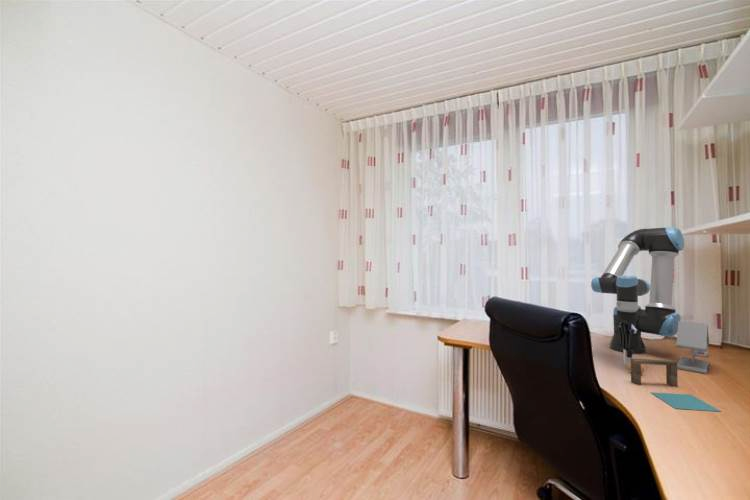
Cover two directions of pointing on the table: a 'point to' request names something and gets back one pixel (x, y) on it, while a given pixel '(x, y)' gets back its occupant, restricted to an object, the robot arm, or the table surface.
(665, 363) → the bridge
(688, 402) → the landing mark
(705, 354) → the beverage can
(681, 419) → the table surface
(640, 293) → the robot arm
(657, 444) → the table surface
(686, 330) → the folded metal stand
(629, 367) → the ball
